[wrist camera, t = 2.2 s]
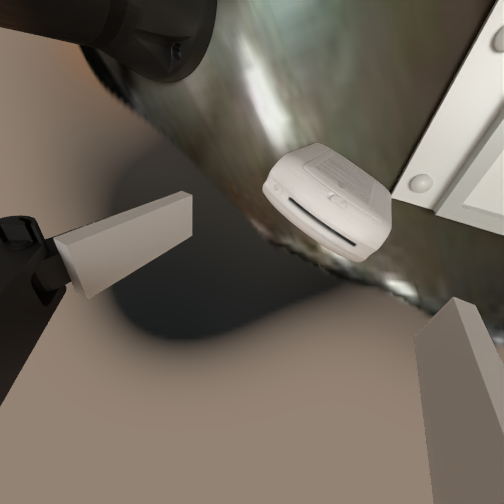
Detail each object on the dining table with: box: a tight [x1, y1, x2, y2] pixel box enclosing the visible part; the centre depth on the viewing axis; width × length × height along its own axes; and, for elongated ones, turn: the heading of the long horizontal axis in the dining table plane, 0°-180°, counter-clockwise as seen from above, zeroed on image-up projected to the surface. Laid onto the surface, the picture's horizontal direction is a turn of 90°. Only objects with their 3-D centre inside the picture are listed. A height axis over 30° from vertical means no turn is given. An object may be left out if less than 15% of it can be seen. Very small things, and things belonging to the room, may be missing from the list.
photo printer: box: [262, 143, 391, 262], centre depth 20 cm, size 10×4×12 cm, turn 62°
